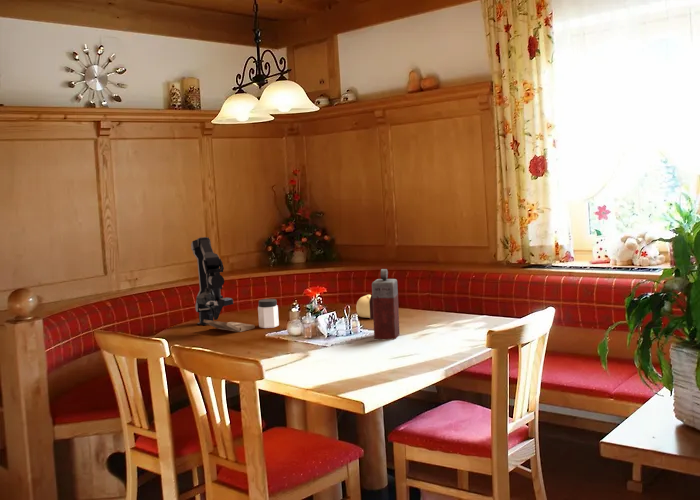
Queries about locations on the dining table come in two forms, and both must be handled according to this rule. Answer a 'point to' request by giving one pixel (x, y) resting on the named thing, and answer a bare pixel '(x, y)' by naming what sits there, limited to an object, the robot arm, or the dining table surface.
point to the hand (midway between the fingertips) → (215, 319)
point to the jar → (268, 313)
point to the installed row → (241, 326)
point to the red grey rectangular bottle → (385, 307)
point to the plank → (221, 325)
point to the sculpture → (363, 306)
